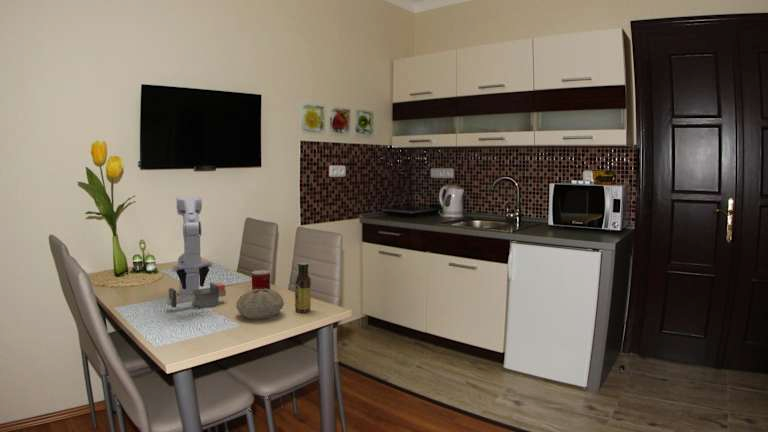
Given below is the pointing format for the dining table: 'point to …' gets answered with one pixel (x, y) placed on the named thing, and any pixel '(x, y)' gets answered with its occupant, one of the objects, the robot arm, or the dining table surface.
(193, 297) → the shaft
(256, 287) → the canned food
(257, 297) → the decorative shell
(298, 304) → the sauce bottle
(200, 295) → the bearing block
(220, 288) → the spacer
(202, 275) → the robot arm
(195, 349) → the dining table surface
